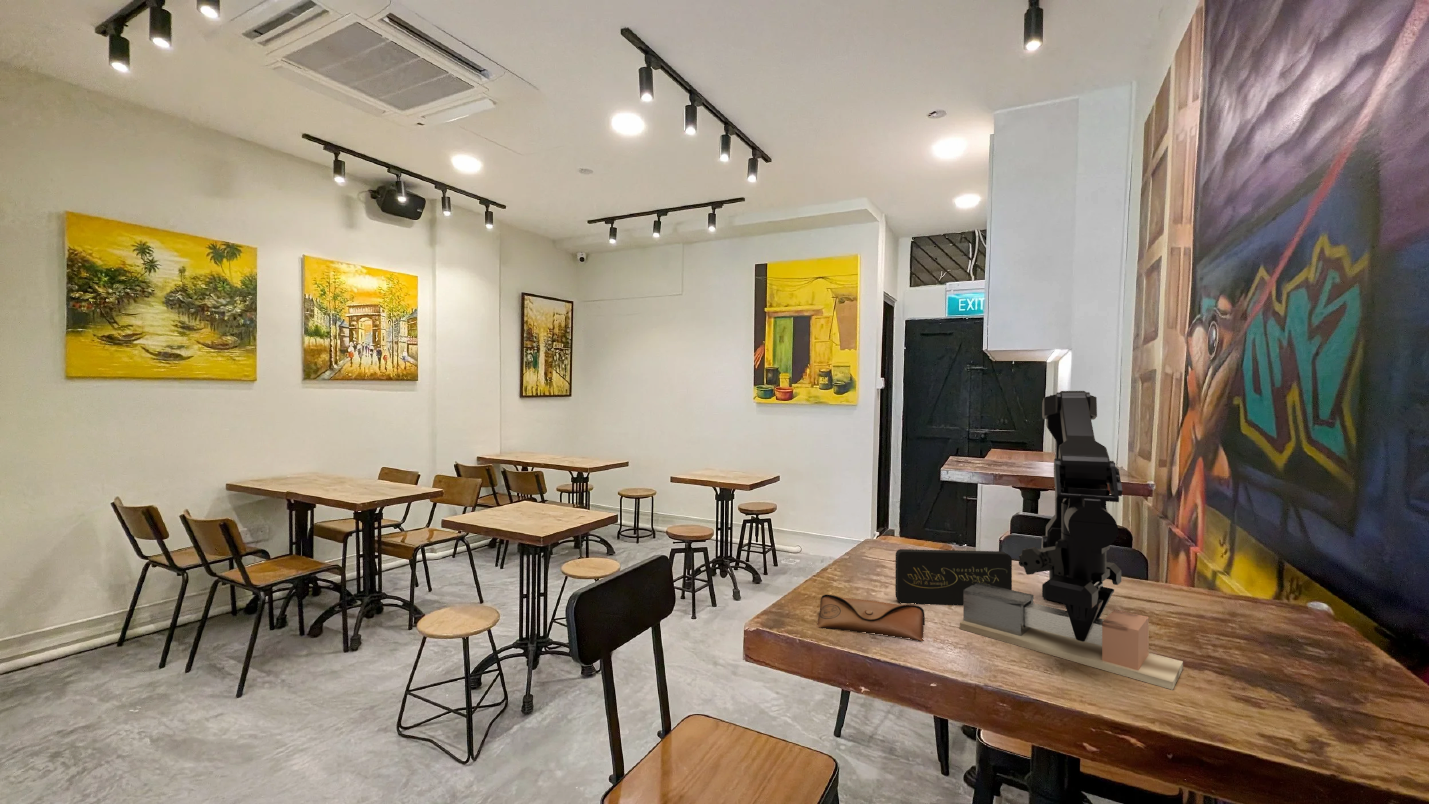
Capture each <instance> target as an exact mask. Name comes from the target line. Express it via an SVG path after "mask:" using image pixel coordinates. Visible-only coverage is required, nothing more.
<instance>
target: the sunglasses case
mask: <svg viewBox="0 0 1429 804" xmlns="http://www.w3.org/2000/svg"><path fill="white" fill-rule="evenodd" d="M819 603H820V604H819V606H820V607H819V614H818V620H817V622H818V623H816V628H817V629H823V628H826V629H825V630H835V629H841V630H840V631H844V630H850V631H849V632H852V631H857V632H856V633H860V632H866V633H865V634H867V633H875V634H883V635H888V636H895V637H894V638H896V637H902V638H910V639H912V640H911V641H913V640H918V641H917V642H921V641H924V642H925V639H924V633H923V632H924V631H925V630H924V627H925V624H926V621H925V620H926V618H925V611H924V609H923V607H921V606H919V605H917V604H899V603H898V604H897V603H890V602H882V601H875V600H868V599H867V600H866V599H861V598H860V599H859V598H848V597H841V596H838V595H834V594H823V595H821V598H820V602H819ZM817 625H818V626H817ZM888 636H887V637H888ZM902 638H901V639H902ZM922 638H923V639H924V640H923V639H922Z"/></svg>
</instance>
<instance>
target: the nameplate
mask: <svg viewBox="0 0 1429 804" xmlns="http://www.w3.org/2000/svg"><path fill="white" fill-rule="evenodd" d="M976 583H982V584H987V585H991V586H996V587H1000V588H1005V589H1009V590H1013V587H1012V586H1013V560H1012V556H1011V555H1010V554H1009V553H1006V552H1004V551H1003V550H1001V551H999V550H998V551H997V550H995V551H993V550H961V549H960V550H954V549H951V550H950V549H913V548H911V549H909V548H904V549H903V548H902V549H901V548H900V549H898V550H896V552H895V598H896V600H897V601H898V602H899V603H900V602H901V603H914V604H913V605H925V604H930V605H932V606H960V607H961V606H962V607H963V604H964V589H966V588H968V587H970V586H972V585H974V584H976ZM901 603H900V604H901ZM915 603H916V604H915Z"/></svg>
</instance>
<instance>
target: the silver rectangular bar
mask: <svg viewBox="0 0 1429 804" xmlns="http://www.w3.org/2000/svg"><path fill="white" fill-rule="evenodd" d="M1104 620H1105V619H1103V618H1101V617H1100V618H1095V620H1094V622H1093V625H1092V627H1091V629H1090V631H1089V633H1088V636H1087V638H1086V640H1085V642H1089V643H1093V644H1097V645H1100V646H1102V622H1103V621H1104ZM1023 625H1024V626H1028V627H1031V628H1035V629H1039V630H1043V631H1047V632H1051V633H1054V634H1058V635H1062V636H1066V637H1070V638H1074V639H1076V638H1075V634H1074V631H1073V628H1072V625H1071V621H1070V618H1069V615H1068V612H1067V610H1064V609H1060V608H1056V607H1052V606H1047V605H1043V604H1038V603H1034V602H1033V603H1031V602H1028V603H1026V604H1025V605H1023Z"/></svg>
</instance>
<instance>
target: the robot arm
mask: <svg viewBox="0 0 1429 804" xmlns="http://www.w3.org/2000/svg"><path fill="white" fill-rule="evenodd" d="M1042 399H1043V400H1042V404H1041V405H1042V406H1041V409H1042V410H1041V412H1042V414H1041V415H1042V420H1046V421H1045V426H1046V428H1047V430H1048V431H1049V433H1050V434H1051V436H1052V437H1053V439H1054V440H1055V441H1054V442H1055V445H1054V446H1055V447H1054V451H1055V452H1054V453H1055V454H1054V455H1055V456H1054V459H1053V481H1054V515H1053V516H1052V517H1051V519H1050V520H1049V521H1048V523H1047V524H1045V525H1046V526H1045V535H1041V543H1040V544H1041V546H1040V547H1041V548H1037V547H1036V546H1033V547H1030V548H1028V547H1026V548H1023V549H1022V550H1021V554H1019V555H1018V558H1019V561H1018V565H1019V566H1020V567H1023V569H1024V571H1025V574H1026V575H1028V576H1029V575H1034V574H1036V573H1041V572H1042V573H1043V572H1048V571H1049V573H1048V575H1049V577H1048V578H1049V579H1048V580H1047V581H1045V582H1044V583H1042V584H1041V587H1042V588H1041V594H1042V596H1041V597H1042V598H1043V599H1044V600H1049V601H1053V602H1058V603H1062V604H1063V605H1064V606H1065V609H1066V611H1067V612H1068V615H1069V618H1070V621H1071V625H1072V628H1073V631H1074V634H1075V638H1076V640H1078V641H1082V642H1084V641H1085V640H1086V638H1087V636H1088V633H1089V631H1090V629H1091V627H1092V625H1093V622H1094V620H1095V618H1100V619H1101V616H1102V614H1103V612H1104V611H1105V609H1106V607H1107V605H1108V603H1109V602H1110V599H1111V598H1112V595H1113V594H1114V592H1115V589H1114V588H1111V587H1107V586H1106V587H1105V586H1104V581H1105V580H1109V581H1111V582H1112V585H1114V586H1118V585H1120V584H1121V583H1122V569H1121V568H1120V567H1119V566H1118V565H1117V564H1116V563H1114V562H1110V561H1107V552H1108V551H1109V550H1110V549H1111V545H1112V544H1113V543H1115V541H1116V540H1117V537H1118V536H1119V535H1118V533H1119V526H1118V523H1117V521H1116V520H1115V518H1114V517H1113V515H1111V513H1110V512H1108V509H1107V502H1109V503H1111V502H1112V503H1119V502H1120V497H1122V495H1123V486H1122V480H1121V475H1120V470H1119V468H1118V467H1117V466H1116V462H1115V461H1114V460H1110V459H1111V458H1110V456H1109V453H1108V449H1107V446H1105V445H1103V444H1101V443H1099V442H1098V441H1097V440H1096V438H1095V433H1094V428H1093V427H1094V426H1093V423H1092V420H1096V418H1097V417H1098V406H1097V405H1098V404H1097V403H1098V401H1097V397H1096V396H1094V395H1091V393H1090V392H1089V391H1088V392H1087V391H1085V390H1060V391H1059V392H1055V394H1052V395H1051V394H1050V395H1048V396H1044V397H1043V398H1042ZM1108 487H1109V489H1108Z"/></svg>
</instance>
